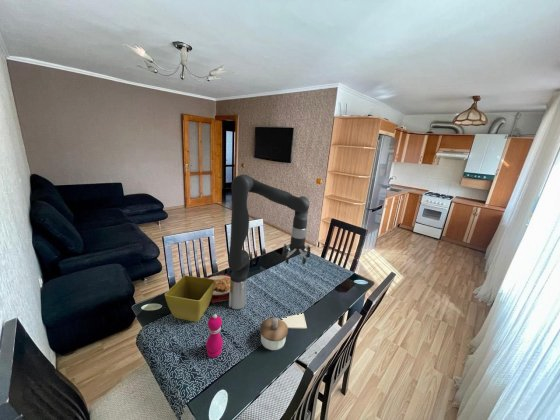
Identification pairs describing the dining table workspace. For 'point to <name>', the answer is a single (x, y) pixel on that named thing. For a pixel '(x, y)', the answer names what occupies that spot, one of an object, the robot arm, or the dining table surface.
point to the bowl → (272, 343)
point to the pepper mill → (214, 337)
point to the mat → (295, 321)
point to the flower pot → (190, 297)
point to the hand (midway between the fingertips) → (295, 263)
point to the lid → (273, 329)
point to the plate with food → (220, 287)
